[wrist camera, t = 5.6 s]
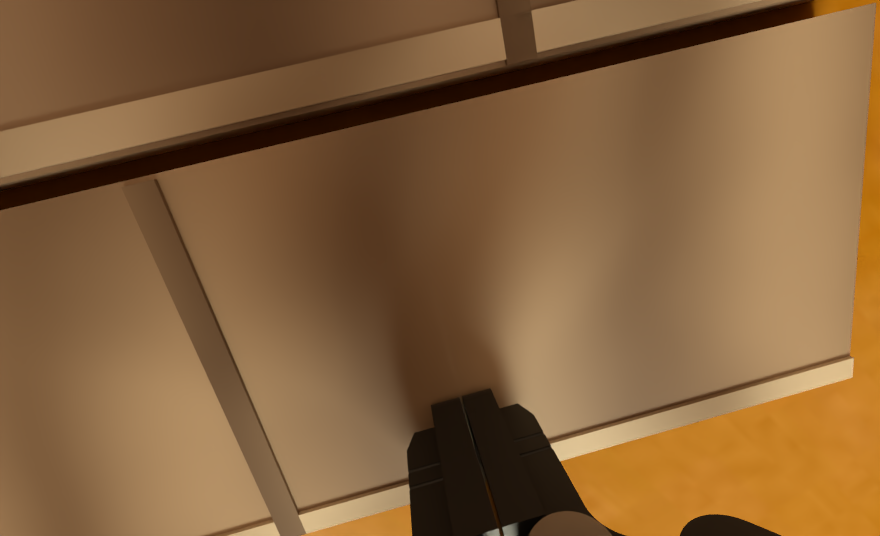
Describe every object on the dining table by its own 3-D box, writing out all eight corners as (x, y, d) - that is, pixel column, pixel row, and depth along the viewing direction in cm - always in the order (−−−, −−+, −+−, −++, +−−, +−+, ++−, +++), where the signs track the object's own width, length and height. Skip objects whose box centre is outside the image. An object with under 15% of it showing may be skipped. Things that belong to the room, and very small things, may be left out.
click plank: (816, 21, 9) (881, 0, 8) (804, 357, 12) (851, 380, 11) (-168, 255, 8) (-267, 273, 7) (50, 569, 11) (7, 622, 10)
